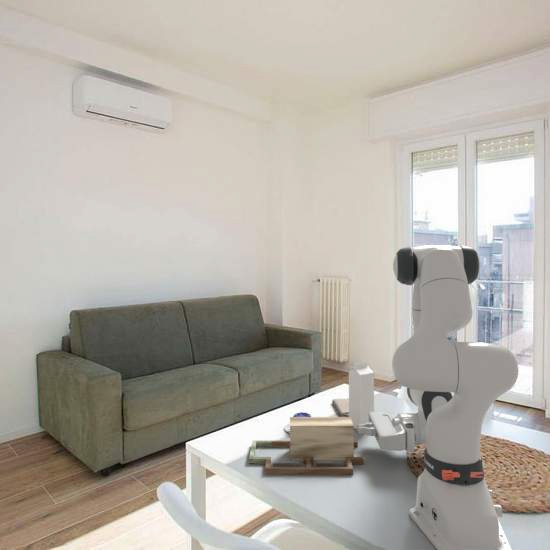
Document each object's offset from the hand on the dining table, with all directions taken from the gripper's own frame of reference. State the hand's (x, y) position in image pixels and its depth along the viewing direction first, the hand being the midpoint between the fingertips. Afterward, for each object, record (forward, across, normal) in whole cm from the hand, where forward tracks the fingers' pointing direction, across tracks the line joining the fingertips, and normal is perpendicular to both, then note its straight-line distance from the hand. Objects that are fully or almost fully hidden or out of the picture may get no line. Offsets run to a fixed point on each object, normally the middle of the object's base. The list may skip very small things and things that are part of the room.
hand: (357, 429), depth 132 cm
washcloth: (-3, -38, +8) cm, 39 cm away
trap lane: (+15, +3, +7) cm, 17 cm away
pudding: (+16, -19, +8) cm, 26 cm away
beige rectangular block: (+11, 0, +8) cm, 13 cm away
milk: (-4, -21, +8) cm, 23 cm away
